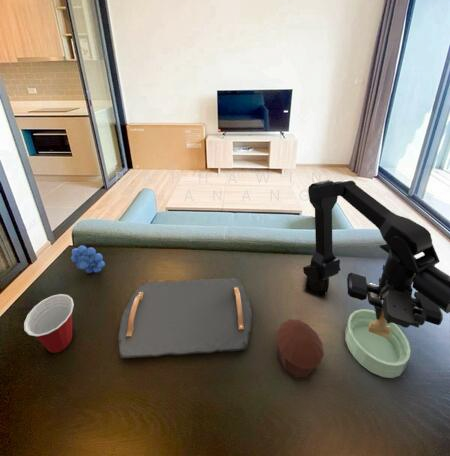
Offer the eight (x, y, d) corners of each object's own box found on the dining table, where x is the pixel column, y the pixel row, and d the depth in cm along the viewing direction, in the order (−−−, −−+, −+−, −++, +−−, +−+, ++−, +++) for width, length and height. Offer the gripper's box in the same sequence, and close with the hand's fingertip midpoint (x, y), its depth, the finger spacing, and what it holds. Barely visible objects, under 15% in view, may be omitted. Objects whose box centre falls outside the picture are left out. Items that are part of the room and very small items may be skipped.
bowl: (345, 363, 63) (349, 349, 61) (344, 315, 76) (347, 302, 74) (410, 390, 58) (417, 376, 56) (398, 333, 70) (403, 320, 68)
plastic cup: (32, 373, 61) (18, 342, 57) (39, 333, 70) (28, 304, 66) (82, 351, 66) (72, 321, 61) (83, 317, 75) (74, 288, 70)
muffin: (265, 352, 66) (268, 327, 62) (291, 327, 72) (295, 303, 68) (302, 397, 57) (308, 371, 53) (328, 364, 63) (335, 338, 60)
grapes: (68, 281, 87) (60, 254, 82) (79, 266, 93) (72, 241, 89) (100, 282, 86) (94, 255, 82) (109, 267, 93) (104, 241, 88)
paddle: (368, 333, 64) (378, 303, 60) (367, 326, 66) (377, 296, 62) (388, 340, 62) (399, 310, 58) (386, 332, 64) (397, 303, 60)
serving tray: (245, 283, 86) (246, 269, 84) (257, 356, 65) (259, 340, 63) (134, 288, 84) (131, 275, 82) (108, 366, 62) (104, 351, 60)
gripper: (355, 287, 53) (342, 334, 59) (465, 321, 46) (438, 371, 52) (353, 252, 63) (342, 296, 68) (443, 277, 56) (423, 323, 61)
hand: (382, 319), depth 62 cm, fingers closed on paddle, 2 cm apart
